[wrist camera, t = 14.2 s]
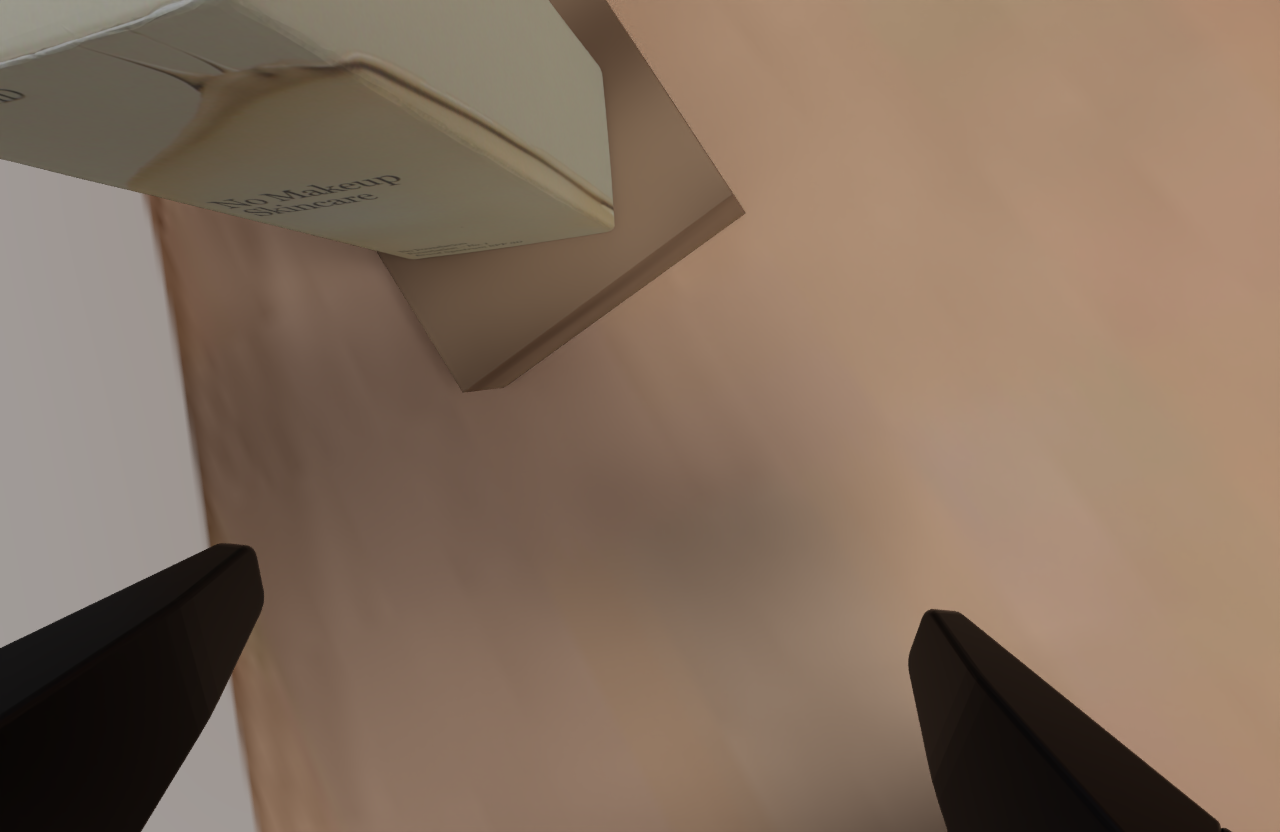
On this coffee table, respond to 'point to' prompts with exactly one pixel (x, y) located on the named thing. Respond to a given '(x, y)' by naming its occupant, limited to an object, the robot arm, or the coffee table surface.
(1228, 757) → the coffee table surface
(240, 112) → the skincare box
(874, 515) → the coffee table surface
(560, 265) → the walnut plinth
